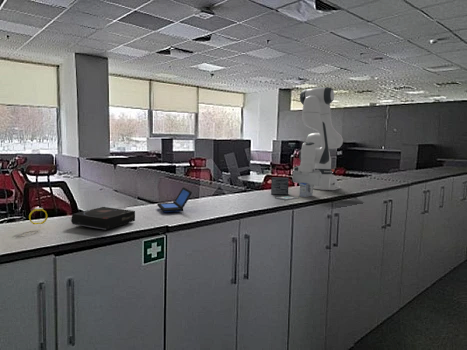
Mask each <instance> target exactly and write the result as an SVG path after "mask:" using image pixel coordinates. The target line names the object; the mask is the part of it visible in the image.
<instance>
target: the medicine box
mask: <svg viewBox="0 0 467 350" xmlns="http://www.w3.org/2000/svg"><path fill="white" fill-rule="evenodd" d="M310 188H311V187H310V185H308V183H303V182H302V183H300V186H299V197H303V198H307V197H313V192H314V189H312V192H309V189H310Z"/></svg>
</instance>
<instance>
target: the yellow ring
mask: <svg viewBox="0 0 467 350" xmlns="http://www.w3.org/2000/svg"><path fill="white" fill-rule="evenodd" d="M36 211H37V212H41V211H42V212H44V213H45V218H44V220H43V221H41V222H34V221H32V219H31V217H32V214H34V212H36ZM28 219H29V222H30V223H31V224H32V225H43V224H45V222H47V220H48V213H47V211H46V210H44V208H43V207H34V209H32V210H31V211H30V213H29V215H28Z"/></svg>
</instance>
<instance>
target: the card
mask: <svg viewBox="0 0 467 350" xmlns="http://www.w3.org/2000/svg"><path fill="white" fill-rule="evenodd" d="M274 199H277V200H282V201H288V200H289V201H290V200H296V199H299V197H298V196H292V195H282V196H277V197H276V196H275V198H274Z"/></svg>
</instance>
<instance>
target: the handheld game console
mask: <svg viewBox="0 0 467 350" xmlns="http://www.w3.org/2000/svg"><path fill="white" fill-rule="evenodd" d="M192 194H193V192H192V191H191V190H189V189H187V188H186V187H182V188H181V190H180V191H179V193H178V195H177V196H176V198H175V199H174V200H173V202H159V203H157V205H156V206H157V207H158V208H159V209H160V210H161V211H162V212H164V213H169V212H170V213H171V212H172V213H174V212H184V207H185V205H186V204H187V203H188V201H189V199H190V197H191V196H192Z"/></svg>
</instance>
